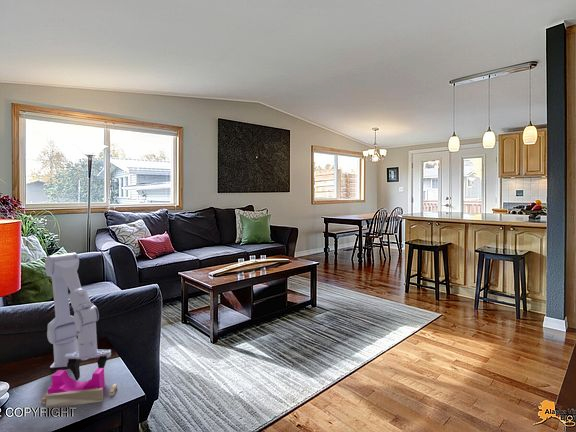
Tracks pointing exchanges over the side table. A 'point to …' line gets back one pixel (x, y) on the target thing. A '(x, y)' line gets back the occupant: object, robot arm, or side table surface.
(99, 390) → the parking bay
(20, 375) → the side table surface
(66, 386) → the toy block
